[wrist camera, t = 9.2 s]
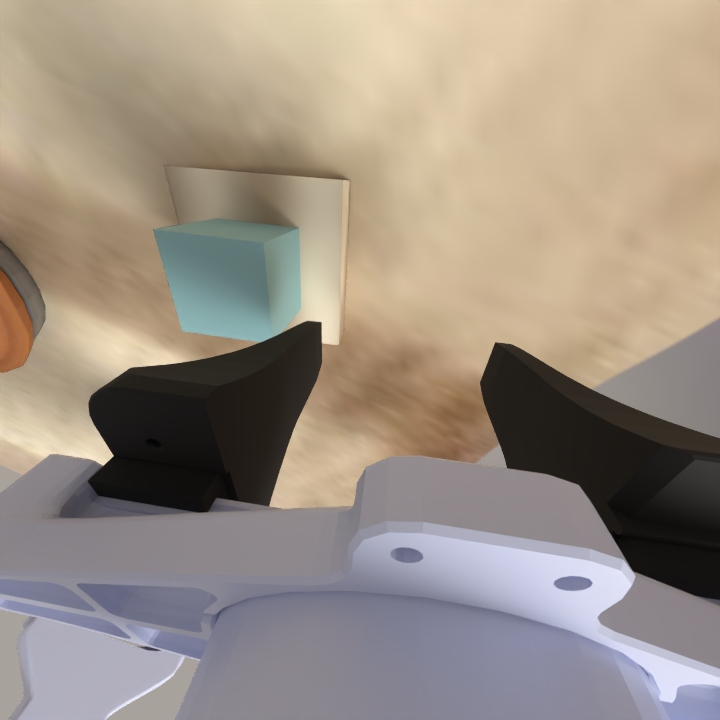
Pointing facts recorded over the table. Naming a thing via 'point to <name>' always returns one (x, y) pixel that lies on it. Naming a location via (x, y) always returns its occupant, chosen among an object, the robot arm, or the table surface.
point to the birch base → (283, 208)
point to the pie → (17, 311)
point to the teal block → (232, 276)
